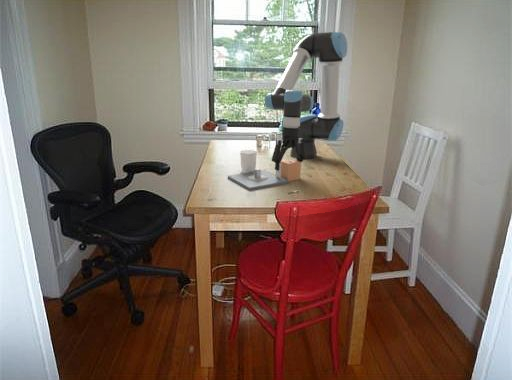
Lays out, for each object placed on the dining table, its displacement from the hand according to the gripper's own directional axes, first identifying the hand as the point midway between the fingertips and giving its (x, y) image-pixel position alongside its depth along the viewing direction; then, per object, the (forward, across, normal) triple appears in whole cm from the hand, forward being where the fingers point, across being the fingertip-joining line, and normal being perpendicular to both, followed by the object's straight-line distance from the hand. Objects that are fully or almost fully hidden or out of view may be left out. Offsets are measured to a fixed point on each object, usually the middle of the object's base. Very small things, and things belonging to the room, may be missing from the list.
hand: (287, 176), depth 164 cm
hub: (+2, +13, -4) cm, 14 cm away
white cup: (+2, +10, -19) cm, 21 cm away
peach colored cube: (+1, -1, 0) cm, 2 cm away
